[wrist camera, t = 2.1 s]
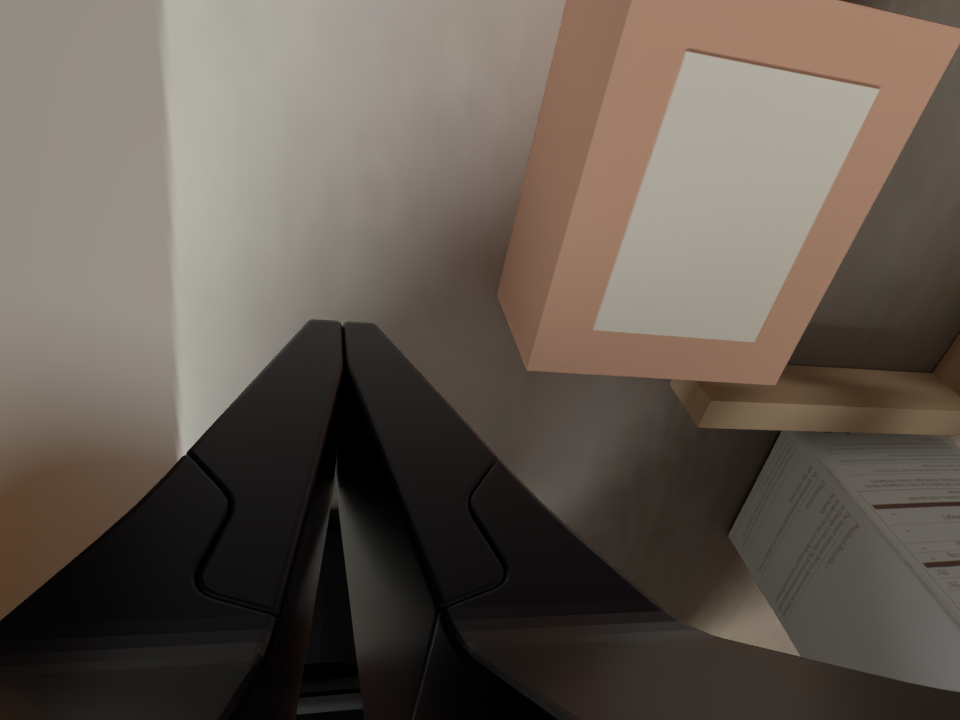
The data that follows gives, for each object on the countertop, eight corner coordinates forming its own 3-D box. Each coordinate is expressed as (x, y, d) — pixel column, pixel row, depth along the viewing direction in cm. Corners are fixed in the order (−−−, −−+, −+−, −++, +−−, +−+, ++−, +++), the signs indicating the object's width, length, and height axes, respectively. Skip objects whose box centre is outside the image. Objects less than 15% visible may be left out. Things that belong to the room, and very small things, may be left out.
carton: (495, 290, 22) (527, 372, 18) (577, -62, 17) (645, -45, 13) (709, 309, 24) (776, 386, 21) (845, 1, 19) (969, 30, 15)
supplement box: (854, 530, 33) (1079, 813, 23) (721, 534, 32) (903, 843, 22) (933, 415, 29) (1247, 698, 19) (785, 413, 28) (1046, 723, 18)
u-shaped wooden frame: (669, 384, 26) (697, 427, 24) (894, -149, 17) (972, -152, 15) (939, 397, 29) (984, 436, 27) (1251, -44, 20) (1354, -35, 18)
